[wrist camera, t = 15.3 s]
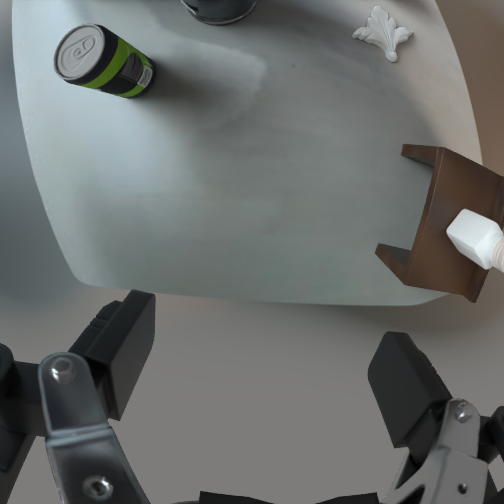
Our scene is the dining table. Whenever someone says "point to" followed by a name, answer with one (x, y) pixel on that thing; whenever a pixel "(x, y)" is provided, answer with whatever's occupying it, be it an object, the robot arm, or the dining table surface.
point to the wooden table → (447, 223)
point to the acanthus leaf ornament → (383, 32)
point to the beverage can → (103, 62)
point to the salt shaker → (478, 239)
